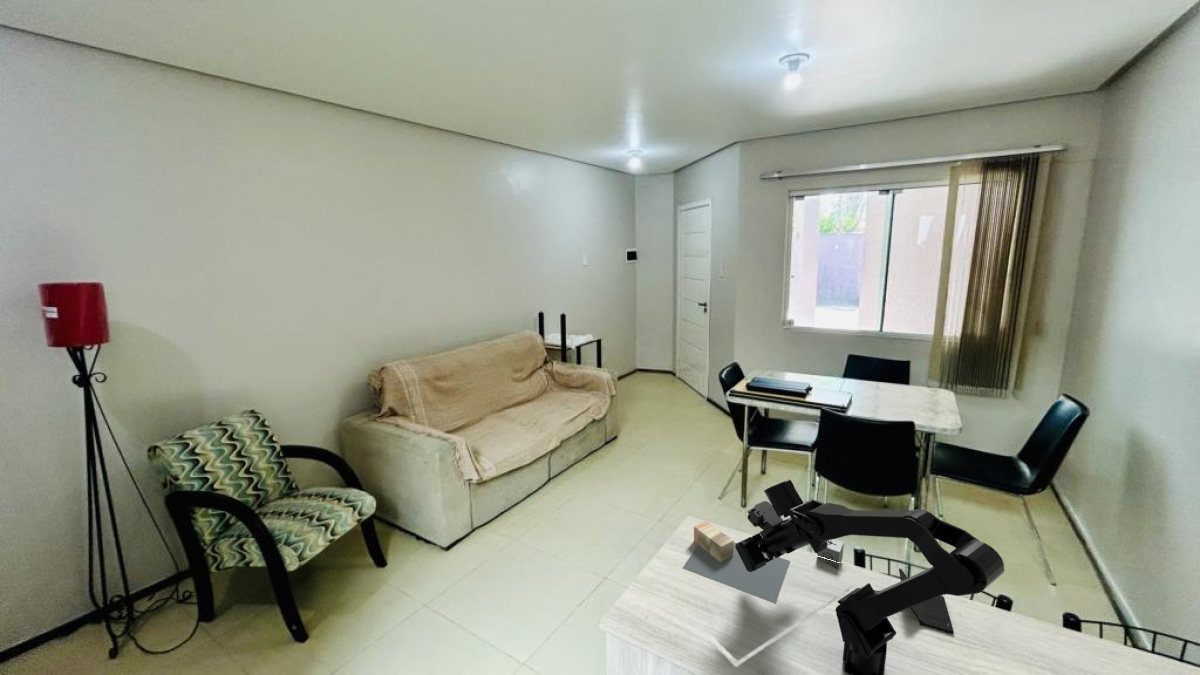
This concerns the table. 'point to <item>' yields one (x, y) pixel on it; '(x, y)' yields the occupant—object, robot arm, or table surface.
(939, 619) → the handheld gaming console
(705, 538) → the beech block
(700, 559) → the slate mat
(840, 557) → the grey printed cube
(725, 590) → the table surface
